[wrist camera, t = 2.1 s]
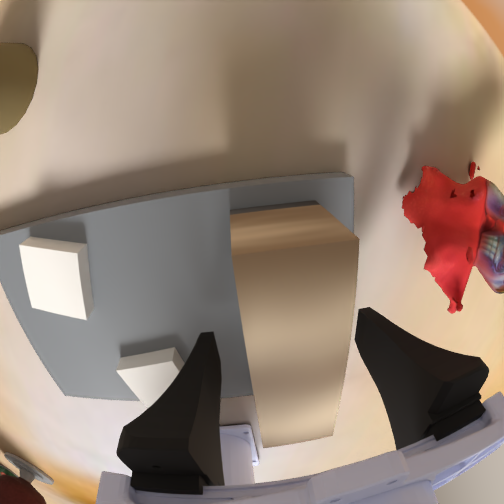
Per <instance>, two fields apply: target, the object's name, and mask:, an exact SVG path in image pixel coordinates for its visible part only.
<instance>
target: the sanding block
mask: <svg viewBox="0 0 504 504" xmlns="http://www.w3.org/2000/svg"><path fill="white" fill-rule="evenodd" d="M230 232H231V256H232V262H233V269H234V276H235V283H236V289H237V296H238V302H239V309H240V315H241V321H242V328H243V334H244V340H245V346H246V352H247V358H248V364H249V370H250V376H251V382H252V388H253V394H254V399H255V405H256V411H257V416H258V422H259V427H260V433H261V438H262V444H263V448H268V447H276V446H282V445H288V444H294V443H300V442H305V441H310V440H315V439H320V438H324V437H329V436H333V432H334V427H335V423H336V418H337V414H338V409H339V404H340V399H341V394H342V389H343V383H344V378H345V372H346V366H347V360H348V353H349V346H350V339H351V331H352V323H353V315H354V305H355V295H356V284H357V271H358V256H359V238H358V237H357V236H355V235H354V234H353V233H352V232H351V231H350V230H349V229H348V228H347V227H345V226H344V225H343V224H342V223H341V222H340V221H339V220H338V219H336V218H335V217H334V216H333V215H332V214H331V213H330V212H328V211H327V210H326V209H325V208H324V207H323V206H321V205H320V204H319V203H318V202H317V201H316V200H313V201H303V202H293V203H284V204H275V205H266V206H257V207H249V208H241V209H233V210H230Z"/></svg>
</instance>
